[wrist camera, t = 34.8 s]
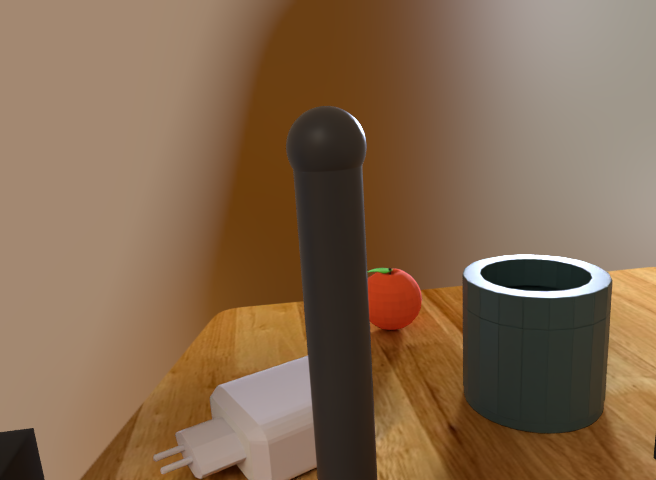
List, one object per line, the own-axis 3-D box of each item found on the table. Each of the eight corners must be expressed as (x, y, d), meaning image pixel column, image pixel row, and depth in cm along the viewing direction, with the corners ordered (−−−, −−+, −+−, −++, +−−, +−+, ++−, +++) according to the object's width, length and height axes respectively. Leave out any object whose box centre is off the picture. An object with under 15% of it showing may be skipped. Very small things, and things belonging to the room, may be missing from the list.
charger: (144, 462, 42) (313, 397, 50) (183, 536, 35) (376, 447, 42) (135, 406, 41) (310, 349, 49) (174, 470, 33) (373, 390, 41)
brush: (326, 720, 24) (274, 110, 18) (297, 624, 28) (248, 110, 22) (427, 680, 25) (411, 101, 19) (384, 595, 30) (361, 102, 23)
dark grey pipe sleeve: (515, 447, 41) (518, 307, 38) (440, 379, 51) (438, 266, 49) (635, 413, 44) (646, 282, 42) (542, 356, 55) (545, 248, 52)
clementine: (342, 331, 64) (338, 271, 62) (373, 311, 69) (370, 255, 67) (404, 345, 59) (402, 281, 57) (432, 322, 65) (431, 263, 63)
